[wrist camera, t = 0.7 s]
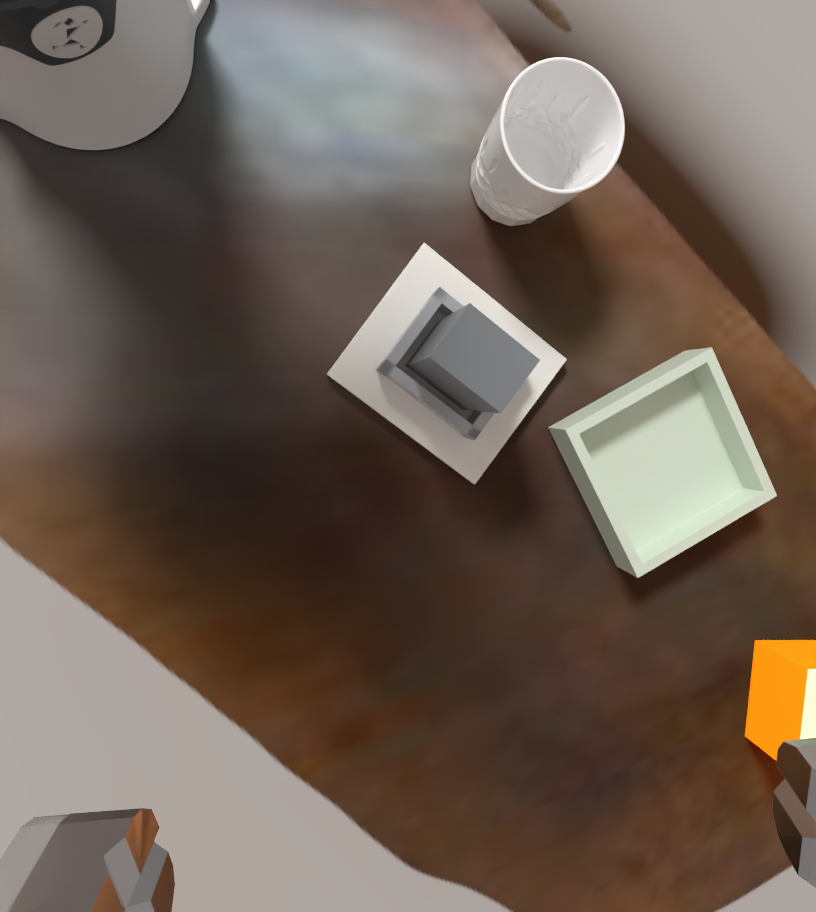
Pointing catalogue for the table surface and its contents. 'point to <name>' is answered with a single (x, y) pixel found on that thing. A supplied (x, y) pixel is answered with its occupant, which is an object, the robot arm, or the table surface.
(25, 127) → the robot arm
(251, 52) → the table surface
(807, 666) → the orange juice
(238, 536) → the table surface
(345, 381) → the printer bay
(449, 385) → the gray rectangular block
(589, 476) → the sage tray
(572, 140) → the white cup
